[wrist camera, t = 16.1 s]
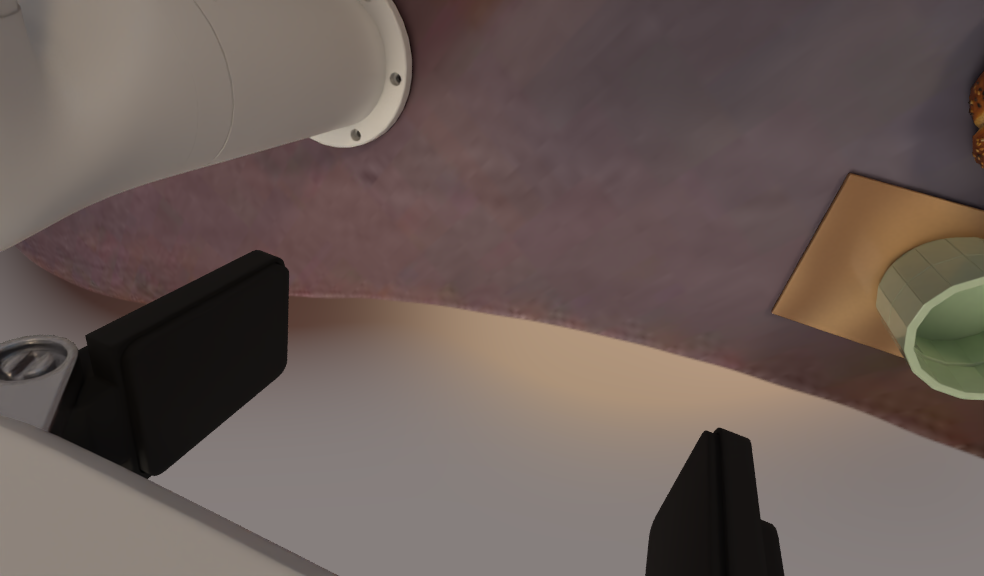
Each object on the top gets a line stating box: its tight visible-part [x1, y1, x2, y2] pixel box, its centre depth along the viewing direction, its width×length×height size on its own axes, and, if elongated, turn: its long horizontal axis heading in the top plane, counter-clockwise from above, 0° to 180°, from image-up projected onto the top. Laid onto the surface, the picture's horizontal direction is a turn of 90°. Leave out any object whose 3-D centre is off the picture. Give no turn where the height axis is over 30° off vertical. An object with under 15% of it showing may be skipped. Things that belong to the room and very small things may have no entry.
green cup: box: [876, 237, 984, 400], centre depth 30 cm, size 7×7×6 cm
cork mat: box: [772, 173, 984, 358], centre depth 33 cm, size 16×10×1 cm, turn 78°
